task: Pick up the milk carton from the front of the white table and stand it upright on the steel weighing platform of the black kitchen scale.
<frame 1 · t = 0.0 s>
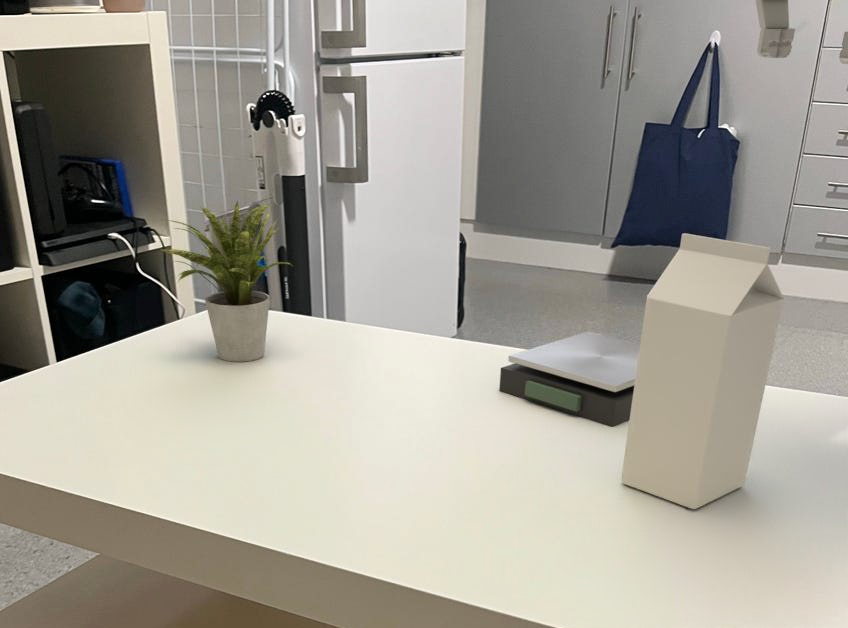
hand: (812, 60, 68), 30 cm above the table, tool pointing down, fingers open, 8 cm apart
scale platform: (600, 359, 101), point 3 cm above the table, slide at 0.0 cm
house plant: (241, 352, 115), on the table
milk carton: (681, 488, 83), on the table
scale: (597, 392, 103), on the table
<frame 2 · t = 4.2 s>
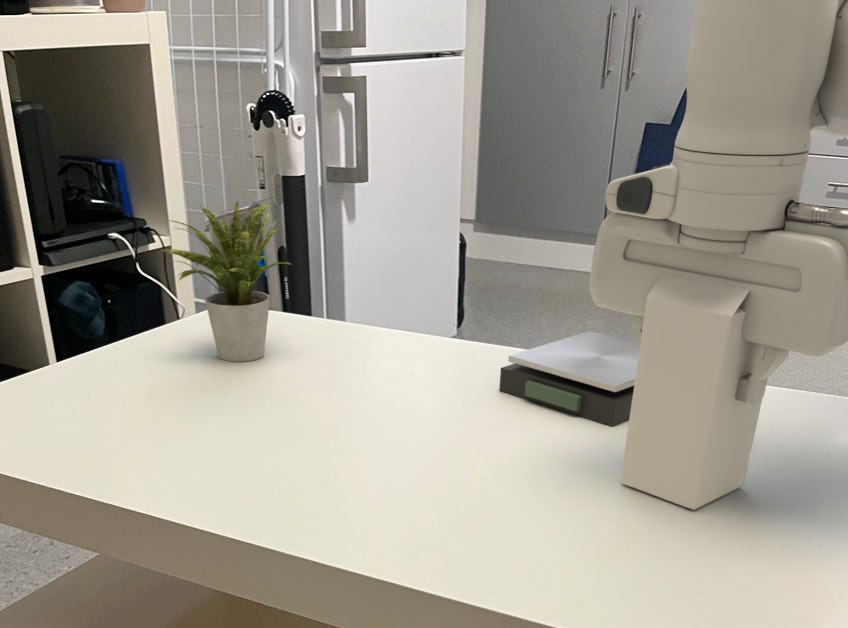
hand: (698, 387, 78), 8 cm above the table, tool pointing down, fingers closed on milk carton, 7 cm apart
milk carton: (680, 488, 83), on the table, touching gripper
everything else where it was.
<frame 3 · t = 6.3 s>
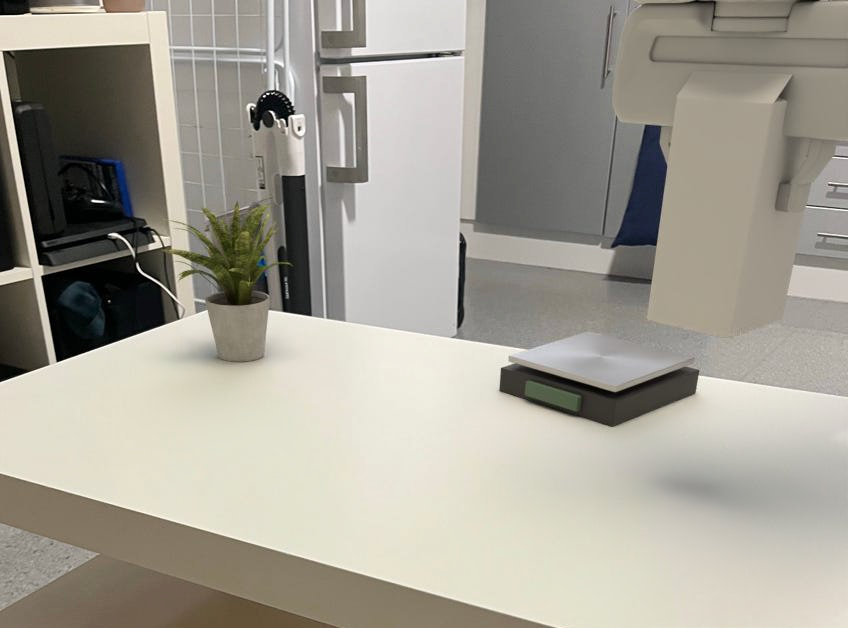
hand: (733, 203, 71), 21 cm above the table, tool pointing down, fingers closed on milk carton, 7 cm apart
milk carton: (713, 325, 76), point 13 cm above the table, touching gripper
everything else where it was.
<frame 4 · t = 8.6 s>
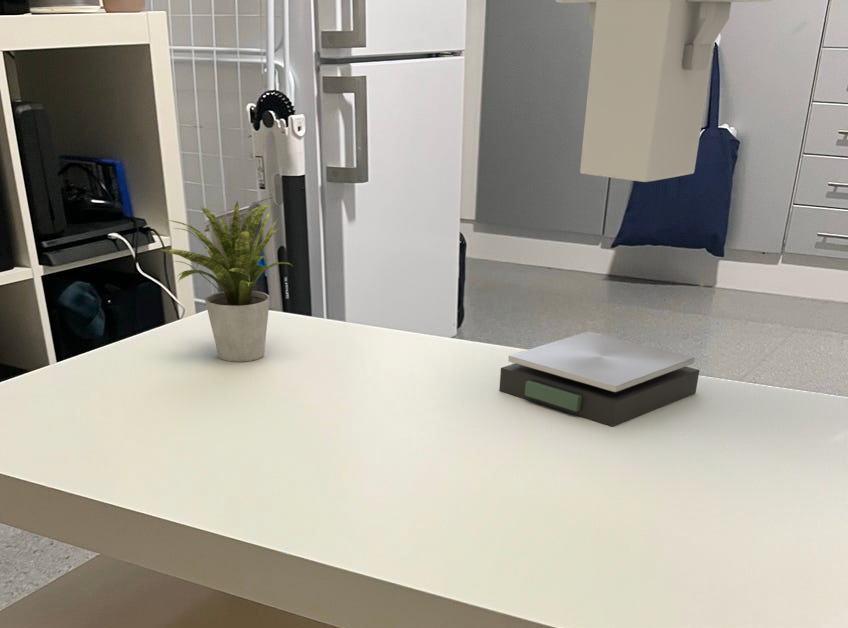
hand: (649, 67, 85), 29 cm above the table, tool pointing down, fingers closed on milk carton, 7 cm apart
milk carton: (636, 178, 89), point 20 cm above the table, touching gripper
everything else where it was.
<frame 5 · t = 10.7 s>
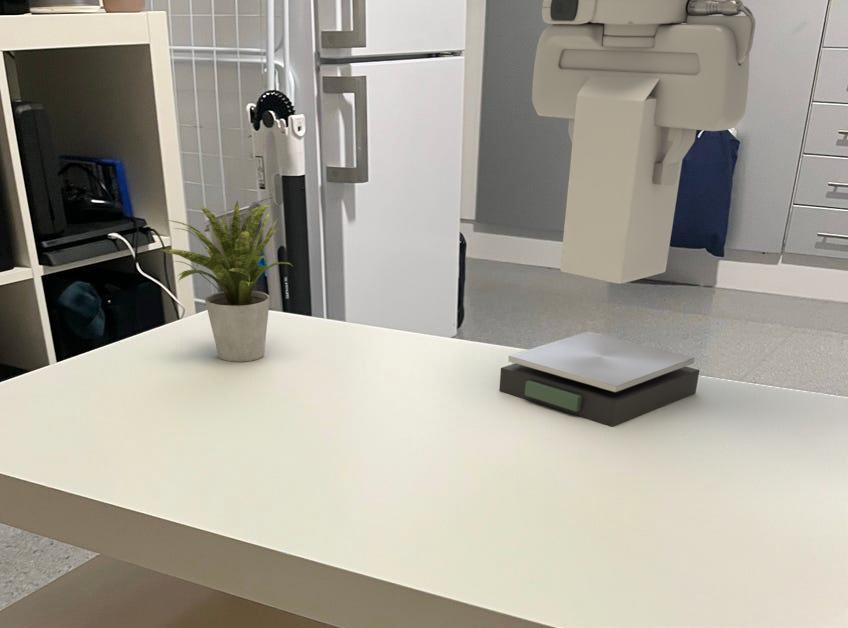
hand: (623, 179, 92), 20 cm above the table, tool pointing down, fingers closed on milk carton, 7 cm apart
milk carton: (612, 275, 97), point 11 cm above the table, touching gripper
everything else where it was.
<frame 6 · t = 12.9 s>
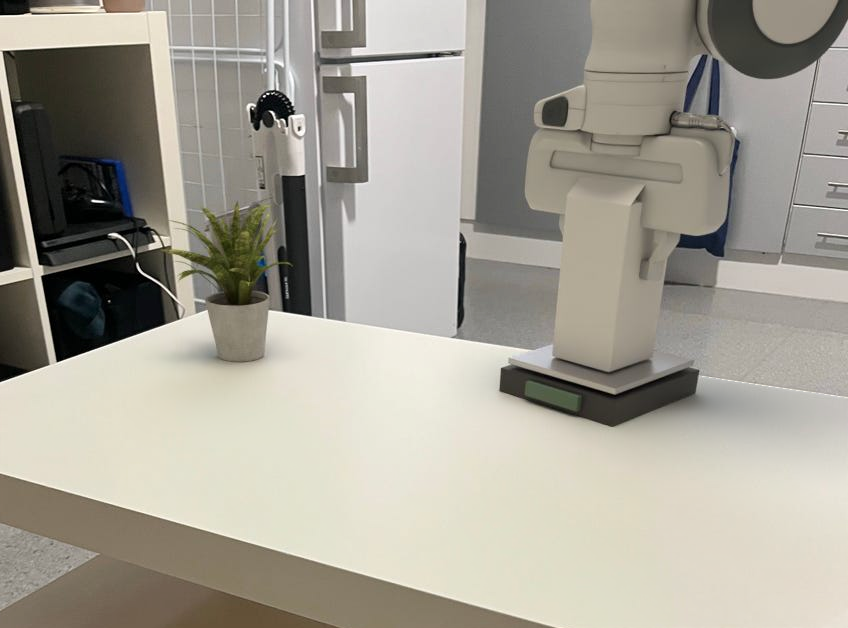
hand: (612, 272, 96), 12 cm above the table, tool pointing down, fingers closed on milk carton, 7 cm apart
scale platform: (600, 361, 101), point 3 cm above the table, slide at -0.2 cm, touching milk carton
milk carton: (601, 360, 101), point 3 cm above the table, touching gripper, scale platform
everything else where it was.
when the fingers open (12 cm above the table, at t = 13.2 s): milk carton stays where it is, resting on scale platform.
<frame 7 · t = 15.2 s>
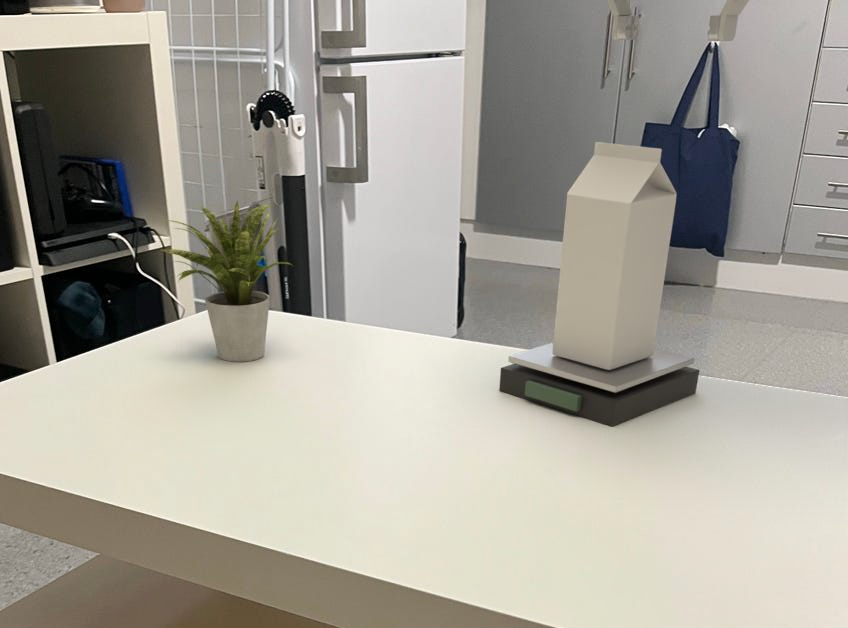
hand: (670, 40, 85), 31 cm above the table, tool pointing down, fingers open, 8 cm apart
milk carton: (602, 358, 101), point 3 cm above the table, touching scale platform
everything else where it was.
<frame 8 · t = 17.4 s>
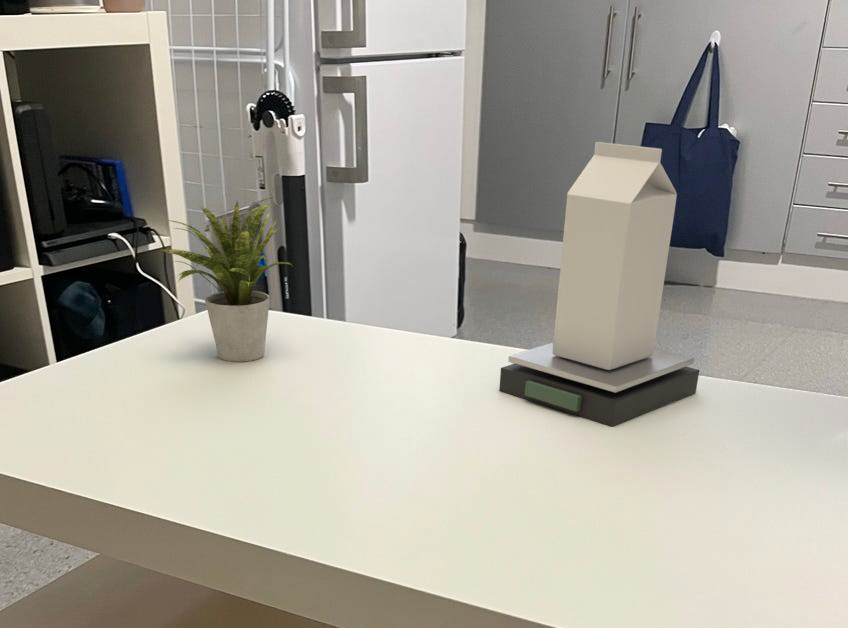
nothing on the table moved.
at the end: milk carton inside the target area on the scale (0.1 cm from its centre), point 3.4 cm above the scale's base; milk carton tilted 0°; the gripper is holding nothing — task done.
